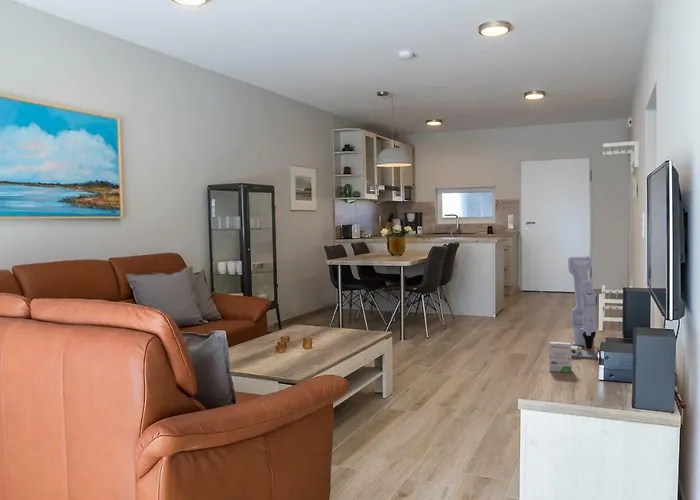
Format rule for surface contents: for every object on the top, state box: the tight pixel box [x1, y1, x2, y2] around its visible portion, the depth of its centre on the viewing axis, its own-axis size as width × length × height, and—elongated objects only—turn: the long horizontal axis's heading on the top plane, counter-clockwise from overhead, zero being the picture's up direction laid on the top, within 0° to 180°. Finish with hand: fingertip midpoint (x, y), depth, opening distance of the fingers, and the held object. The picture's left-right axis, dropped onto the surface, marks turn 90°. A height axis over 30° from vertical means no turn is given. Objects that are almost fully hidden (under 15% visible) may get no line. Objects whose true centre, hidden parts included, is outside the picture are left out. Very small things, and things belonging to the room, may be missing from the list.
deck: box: [571, 346, 599, 360], centre depth 269 cm, size 14×14×4 cm
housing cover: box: [571, 344, 579, 355], centre depth 268 cm, size 6×5×3 cm
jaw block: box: [584, 339, 595, 350], centre depth 276 cm, size 4×4×5 cm
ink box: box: [548, 341, 573, 374], centre depth 243 cm, size 8×5×12 cm, turn 65°
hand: (589, 347), depth 276 cm, fingers closed on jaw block, 4 cm apart
